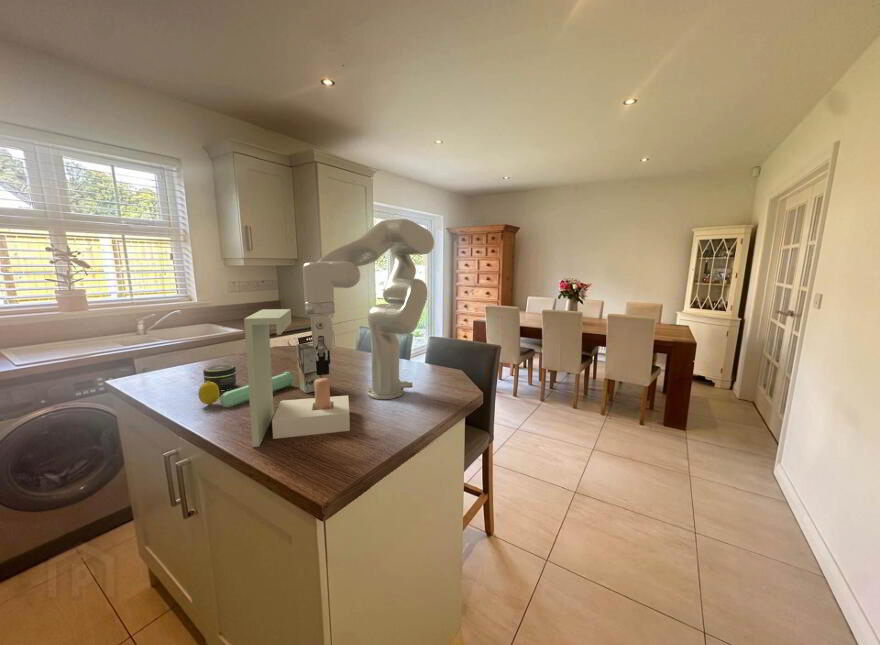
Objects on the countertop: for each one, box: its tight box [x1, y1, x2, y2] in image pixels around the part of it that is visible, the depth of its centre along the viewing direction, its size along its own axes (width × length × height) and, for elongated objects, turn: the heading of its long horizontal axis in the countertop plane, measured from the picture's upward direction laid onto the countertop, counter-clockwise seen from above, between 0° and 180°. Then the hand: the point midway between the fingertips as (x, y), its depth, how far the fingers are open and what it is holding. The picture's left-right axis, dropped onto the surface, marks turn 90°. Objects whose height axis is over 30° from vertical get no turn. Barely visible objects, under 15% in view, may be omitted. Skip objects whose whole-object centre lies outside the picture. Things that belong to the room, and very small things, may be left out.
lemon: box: [197, 381, 220, 406], centre depth 110 cm, size 6×6×8 cm
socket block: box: [271, 394, 351, 440], centre depth 99 cm, size 19×14×5 cm
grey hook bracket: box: [243, 308, 292, 448], centre depth 94 cm, size 8×20×32 cm, turn 16°
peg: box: [314, 377, 331, 410], centre depth 99 cm, size 4×4×12 cm
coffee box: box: [296, 342, 323, 394], centre depth 127 cm, size 9×6×16 cm
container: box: [219, 371, 295, 408], centre depth 120 cm, size 6×6×25 cm
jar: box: [202, 363, 237, 392], centre depth 127 cm, size 10×10×8 cm
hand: (323, 369), depth 98 cm, fingers open, 9 cm apart
